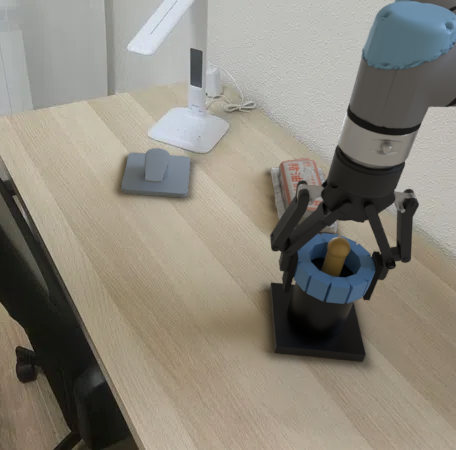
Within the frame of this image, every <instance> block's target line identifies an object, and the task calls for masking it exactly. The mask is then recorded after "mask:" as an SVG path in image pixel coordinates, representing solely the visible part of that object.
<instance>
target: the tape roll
mask: <svg viewBox="0 0 456 450" xmlns="http://www.w3.org/2000/svg"><path fill="white" fill-rule="evenodd" d="M335 237H343V238H345V239H346V240H347V241H348V242H349V244H350V252H349V254H348V255H347V256H346V259H345V261H344V264H345V265H346V266H347V267H348V268H349V269H350V270H351V271H352V272H353V274H354V275H352V276H349V277H346V278H345V277H334V276H330V275H328V274H326V273H324V272H322V271H319V270H318V269H317V268H316V267H315V266H314V264H313V263H312V262H311V260H314V259H317V258H325V257H326V254H327V251H328V249H327V246H328V243H329V241H330V240H331V239H333V238H335ZM371 256H372V254H371V252H369V251H368V250H367V249H366V248H365V247H364V246H363V245H361V243H358V242H357V241H356V240H353V239H351V238H348V237H346V236H344V235H340V236H339V234H338V233H337V234H336V233H325V232H320V233H318V234H317V235H316V236H314V237H313V238H312V239H311V240H310V241H309V242H307V243H306V244H305V245H304V246H303V247H302V248H301V249H299V250H298V258H299V259H298V263H297V266H296V270H295V273H294V277H293V281H294V283H295V282H296V283H297V284H298V285H299V286H300V287H301V289H302V290H303V291H307V294H309V295H311V296H313V297H315V298H317V299H319V300H321V301H324V299H325V298H326V302H329V303H340V304H344V303H345V302H346V303H350V302H353V301H354V302H356V301H358V300H361V299H363V296H364V295H365V293H366V291H367V289H368V288H369V286H370V283H371V281H372V278H373V276H374V274H375V269H376V268H375V265H374V261H373V258H372V257H371Z"/></svg>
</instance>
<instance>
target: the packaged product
mask: <svg viewBox="0 0 456 450" xmlns="http://www.w3.org/2000/svg"><path fill="white" fill-rule="evenodd" d="M270 176H271V177H270V178H271V181H272V185H273V186H272V187H273V193H274V194H273V195H274V206H275V208H276V211H277V218H278V221H279V220H280V219H281V217H282V215H283V214H284V212H285V211H286V209H287V208H288V206H289V204H290V203H291V201H292V200H293V198H294V197H295V194H296V188H297V183H298V182H299V181H301V180H304V181H306V182H307V184H308V185H319V186H321V184H322V183H323V182H324V181H325V180H326V179H325V176H324V173H323V169H322V168H321V167H317V163H316V160H315V159H311V158H310V157H300V158H294V159H287V160H283V161H281V162H280V163H279V165H278V166H276V167H273V166H270ZM322 201H323V199H322V197H317V198H316V199H315V200H314V202H313V204H312V205H308V207H307V210H306V212H305V213H304V215H303V216H302V218H301V219H300V221H299V222H298V224H297V225H296V227H297V226H298V225H299V224H301V223H302V222H303V221H304V220H305V219H306V218H307V217H308V216H309V215H311V214H312V213H313V212H314V211H315V210H316V209H317V207H318V205H319V203H321V202H322ZM296 227H295V228H296ZM295 228H294V229H295ZM338 228H339V225H338V220H337V221H336V222H334V223H333V224H332V225H331V226H326V227H325V228H324V229H323V230H321V231H320V232H319V233H326V234H336V233H337V230H338Z"/></svg>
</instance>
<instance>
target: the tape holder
mask: <svg viewBox="0 0 456 450" xmlns="http://www.w3.org/2000/svg"><path fill="white" fill-rule="evenodd" d="M327 249H328V251H327V254H326V257H325V258H317V259H314V260H311V262H312V263H313V264H314V266H315V267H316V268H317V269H318V270H319V271H322V272H324V273H326V274H328V275H330V276H334V277H345V278H346V277H349V276H352V275H354V274H353V272H352V271H351V270H350V269H349V268H348V267H347V266H346V265H345V264H344V261H345V259H346V256H347V255H348V254H349V252H350V244H349V242H348V241H347V240H346V239H345V238H343V237H340V236H338V237H335V238H333V239H331V240H330V241H329V243H328V246H327ZM269 300H270V301H269V302H270V312H271V327H272V335H273V336H272V339H273V351H274V354H281V355H282V354H283V355H292V356H303V357H313V358H323V359H324V358H325V359H334V360H343V361H352V362H353V361H354V362H364V360H365V358H366V355H367V354H366V350H365V346H364V341H363V336H362V332H361V329H360V324H359V319H358V315H357V311H356V306H355V303H354V302H355V301H353V302H350V303H346V302H345V303H344V304H340V303H329V302H326V298H325V299H324V301H321V300H319V299H317V298H315V297H313V296H311V295H309V294H307V291H303V290H302V289H301V287H300V286H299V285H298V284H297V283H296V282H295V281H294V283H292V284H291V288H290V291H289V293H283V283H281V282H272V281H271V282H270V286H269Z"/></svg>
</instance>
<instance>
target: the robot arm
mask: <svg viewBox="0 0 456 450" xmlns="http://www.w3.org/2000/svg"><path fill="white" fill-rule="evenodd" d="M449 107H450V108H451V107H453V108H454V107H455V108H456V0H394V2H392V3H389V4H387V5H385V6H383V7H381V9H379V11H378V12H376V15H375V17H374V20H373V22H372V25H371V26H370V29H369V32H368V35H367V38H366V40H365V43H364V45H363V47H362V49H361V56H360V63H359V66H358V70H357V74H356V77H355V80H354V83H353V87H352V91H351V95H350V98H349V103H348V106H347V109H346V112H345V116H344V119H343V122H342V125H341V129H340V132H339V135H338V138H337V145H336V146H335V149H334V153H333V156H332V160H331V164H330V166H329V169H328V174H327V177H326V179H325V181H324V182H323V183H322V184H321V186H319V185H308V184H307V182H306V181H304V180H301V181H299V182H298V183H297V188H296V194H295V197H294V198H293V200H292V201H291V203H290V204H289V206H288V208H287V209H286V211H285V212H284V214H283V215H282V217H281V219H280V220H279V219H278V222H277V223H276V225H275V226H274V228H273V229H272V231H271V233H270V235H269V238H270V239H269V242H270V250H271V251H272V252H280V255H279V258H278V265H279V266H278V267H279V271H280V272H283V273H282V276H281V281H282V283H283V293H289V291H290V288H291V284H293V281H294V278H293V277H294V273H295V270H296V266H297V263H298V259H299V258H298V250H299V249H301V248H302V247H303V246H304V245H305V244H306V243H307V242H309V241H310V240H311V239H312V238H313V237H314V236H316V235H317V234H320V233H321V232H320V231H321V230H323V229H324V228H325V227H326V226H331V225H332V224H333V223H334V222H336V221H337V222H338V221H340V222H348V221H352V222H356V223H363V224H364V223H365V222H366V221H368V223H369V226H370V228H371V231H372V233H373V236H374V239H375V241H376V244H377V246H378V249H379V251H378V250H377V251H376V250H373V252H372V254H371V257H372V258H373V261H374V265H375V268H376V269H375V274H374V276H373V278H372V281H371V283H370V286H369V288H368V289H367V291H366V293H365V295H364V296H363V297H362V299H363V301H370V300H371V298H372V296H373V293H374V290H375V288H376V286H377V284H378V281H384V280H385V279H386V278H387V276H388V274H389V271H390V270H394V269H396V267H397V264H396V262H401V263H403V264H407V263H409V262H411V260H412V247H413V246H412V245H413V221H414V217H415V214H416V212H417V210H418V208H419V206H420V203H419V201H418V198H417V196H416V193H415V192H414V189H413V188H407V189H405V190H403V191H396V189H397V187H398V185H399V182H400V179H401V178H402V177H401V176H402V174H403V171H404V169H405V166H406V161H407V160H408V158H409V156H410V153H411V150H412V148H413V145H414V143H415V141H416V138H417V136H418V133H419V130H420V128H421V126H422V123H423V121H424V119H425V116H426V115H427V113H428V110H429V108H449ZM317 197H322V199H323V201H322V202H321V203H319V205H318V207H317V209H316V210H315V211H314V212H313V213H312V214H311V215H309V216H308V217H307V218H306V219H305V220H304V221H303V222H302V223H301V224H299V225H298V226H297V227H296V225H297V224H298V222H299V221H300V219H301V218H302V216H303V215H304V213H305V212H306V210H307V207H308V205H312V204H313V202H314V200H315V199H316V198H317ZM393 204H394V207H395V209H396V239H395V240H396V242H395V246H392V247H391V245H390V242H389V240H388V238H387V237H388V236H387V234H386V232H385V229H384V226H383V223H382V221H381V217H380V215H379V214H381V213H382V212H383V211H385V210H387V209H388V207H391V206H393ZM295 227H296V228H295ZM294 228H295V229H294Z"/></svg>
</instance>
